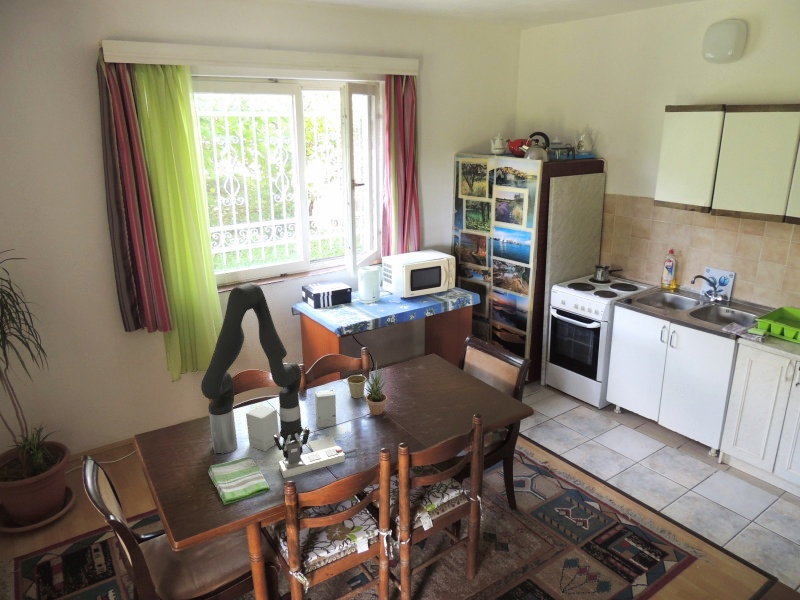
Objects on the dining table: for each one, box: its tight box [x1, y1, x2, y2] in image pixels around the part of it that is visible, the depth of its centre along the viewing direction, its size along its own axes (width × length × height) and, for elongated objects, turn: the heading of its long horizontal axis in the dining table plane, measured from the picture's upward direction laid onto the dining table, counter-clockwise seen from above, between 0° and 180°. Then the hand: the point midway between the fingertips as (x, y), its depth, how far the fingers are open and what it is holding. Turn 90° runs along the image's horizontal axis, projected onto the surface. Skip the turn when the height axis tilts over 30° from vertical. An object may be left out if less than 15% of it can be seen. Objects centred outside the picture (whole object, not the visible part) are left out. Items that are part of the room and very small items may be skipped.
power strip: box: [278, 445, 357, 479], centre depth 218 cm, size 30×7×4 cm, turn 116°
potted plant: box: [364, 361, 388, 416], centre depth 253 cm, size 10×10×25 cm
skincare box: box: [314, 389, 337, 429], centre depth 245 cm, size 8×6×15 cm
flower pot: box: [346, 374, 367, 399], centre depth 271 cm, size 9×9×9 cm
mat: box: [307, 436, 339, 453], centre depth 229 cm, size 10×10×1 cm
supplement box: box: [245, 404, 281, 452], centre depth 230 cm, size 9×9×15 cm
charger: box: [286, 440, 301, 465], centre depth 212 cm, size 4×5×8 cm
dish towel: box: [207, 455, 271, 506], centre depth 208 cm, size 17×23×4 cm
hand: (293, 455), depth 213 cm, fingers closed on charger, 4 cm apart
